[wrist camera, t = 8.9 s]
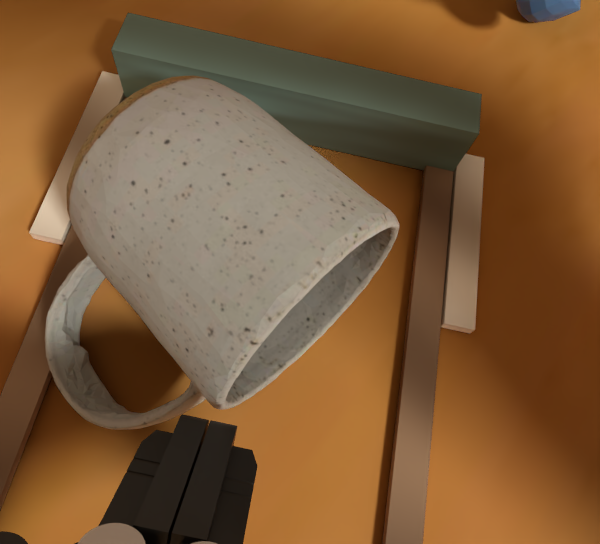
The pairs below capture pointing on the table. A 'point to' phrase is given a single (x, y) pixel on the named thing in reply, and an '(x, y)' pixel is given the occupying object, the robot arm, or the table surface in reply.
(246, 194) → the ceramic mug
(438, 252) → the bay
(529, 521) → the table surface
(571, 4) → the grapes
